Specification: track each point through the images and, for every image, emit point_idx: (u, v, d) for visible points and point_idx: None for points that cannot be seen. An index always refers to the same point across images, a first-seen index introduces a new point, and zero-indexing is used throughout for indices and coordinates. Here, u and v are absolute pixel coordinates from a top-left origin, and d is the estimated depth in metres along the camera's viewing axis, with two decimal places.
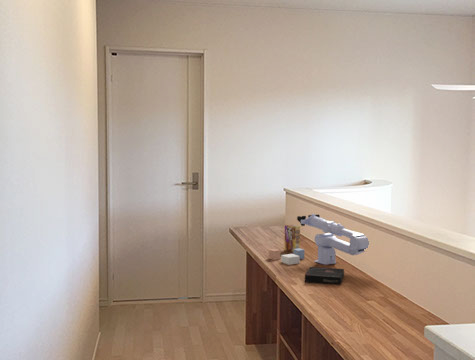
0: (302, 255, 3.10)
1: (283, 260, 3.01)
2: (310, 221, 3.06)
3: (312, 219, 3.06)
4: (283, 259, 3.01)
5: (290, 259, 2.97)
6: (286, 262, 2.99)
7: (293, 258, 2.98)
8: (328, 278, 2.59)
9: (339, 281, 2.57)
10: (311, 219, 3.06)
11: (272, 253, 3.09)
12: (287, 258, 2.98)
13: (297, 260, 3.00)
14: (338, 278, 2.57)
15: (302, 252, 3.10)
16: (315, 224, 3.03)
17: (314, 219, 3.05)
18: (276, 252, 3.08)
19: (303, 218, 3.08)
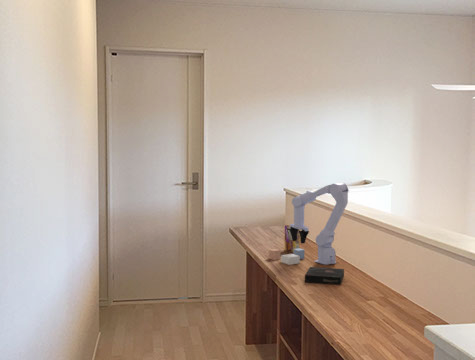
0: (302, 255, 3.10)
1: (283, 260, 3.01)
2: (301, 224, 3.08)
3: (299, 222, 3.07)
4: (283, 259, 3.01)
5: (290, 259, 2.97)
6: (286, 262, 2.99)
7: (293, 258, 2.98)
8: (328, 278, 2.59)
9: (339, 281, 2.57)
10: (299, 224, 3.07)
11: (272, 253, 3.09)
12: (287, 258, 2.98)
13: (297, 260, 3.00)
14: (338, 278, 2.57)
15: (302, 252, 3.10)
16: (296, 216, 3.07)
17: (298, 220, 3.07)
18: (276, 252, 3.08)
19: (302, 231, 3.05)
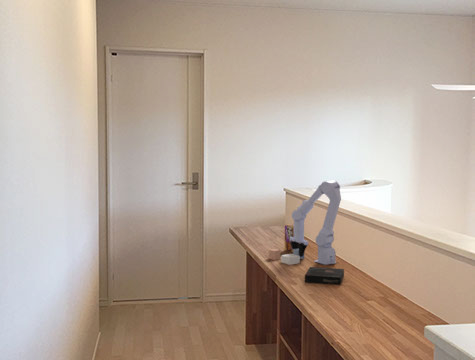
0: None
1: (283, 260, 3.01)
2: (301, 238, 3.08)
3: (299, 236, 3.08)
4: (283, 259, 3.01)
5: (291, 259, 2.97)
6: (286, 262, 2.99)
7: (293, 258, 2.98)
8: (328, 278, 2.59)
9: (339, 281, 2.57)
10: (299, 237, 3.08)
11: (272, 253, 3.09)
12: (288, 258, 2.98)
13: (297, 260, 3.00)
14: (338, 278, 2.57)
15: None
16: (296, 230, 3.08)
17: (298, 234, 3.08)
18: (276, 252, 3.08)
19: (301, 244, 3.07)
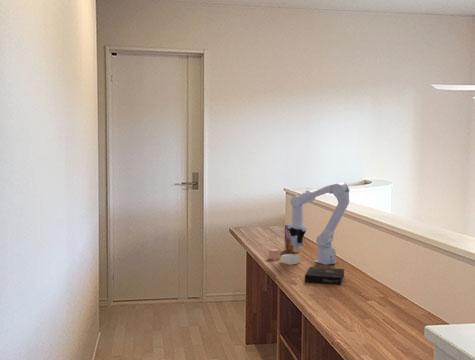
0: None
1: (283, 260, 3.01)
2: (299, 224, 3.05)
3: (297, 222, 3.05)
4: (283, 259, 3.01)
5: (291, 259, 2.97)
6: (287, 262, 2.99)
7: (294, 258, 2.98)
8: (328, 278, 2.59)
9: (339, 281, 2.57)
10: (297, 224, 3.05)
11: (272, 253, 3.09)
12: (288, 258, 2.98)
13: (297, 260, 3.00)
14: (338, 278, 2.57)
15: None
16: (295, 216, 3.05)
17: (296, 220, 3.05)
18: (276, 252, 3.08)
19: (299, 230, 3.04)
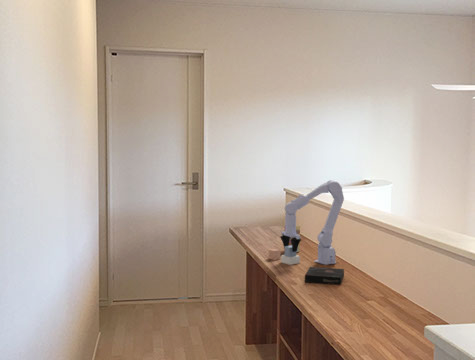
0: (294, 252, 3.00)
1: (283, 260, 3.01)
2: (293, 232, 2.98)
3: (290, 230, 2.97)
4: (283, 259, 3.01)
5: (291, 259, 2.97)
6: (287, 262, 2.98)
7: (294, 258, 2.98)
8: (328, 278, 2.59)
9: (339, 281, 2.57)
10: (291, 231, 2.97)
11: (272, 253, 3.09)
12: (288, 258, 2.98)
13: (297, 260, 3.00)
14: (338, 278, 2.57)
15: None
16: (291, 224, 2.97)
17: (290, 227, 2.97)
18: (276, 252, 3.08)
19: (294, 239, 2.95)
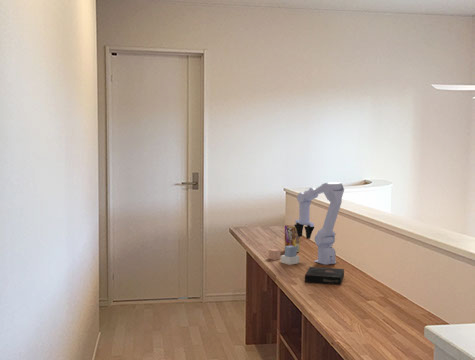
0: (294, 252, 3.00)
1: (283, 260, 3.01)
2: (306, 220, 3.13)
3: (304, 218, 3.13)
4: (282, 259, 3.01)
5: (291, 259, 2.97)
6: (287, 262, 2.99)
7: (293, 258, 2.98)
8: (328, 278, 2.59)
9: (339, 281, 2.57)
10: (304, 220, 3.13)
11: (272, 253, 3.09)
12: (288, 258, 2.98)
13: (297, 260, 3.00)
14: (338, 278, 2.57)
15: (294, 249, 2.99)
16: (300, 212, 3.14)
17: (303, 216, 3.13)
18: (276, 252, 3.08)
19: (307, 226, 3.11)
